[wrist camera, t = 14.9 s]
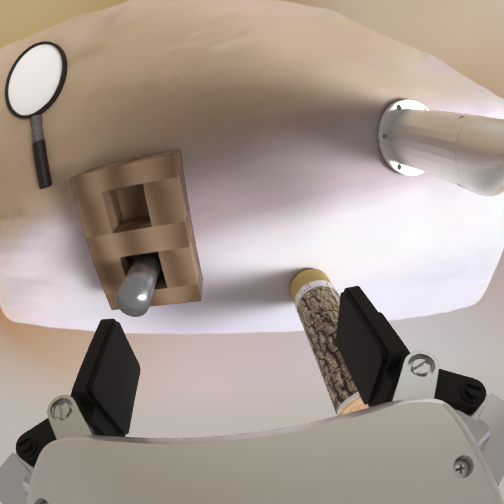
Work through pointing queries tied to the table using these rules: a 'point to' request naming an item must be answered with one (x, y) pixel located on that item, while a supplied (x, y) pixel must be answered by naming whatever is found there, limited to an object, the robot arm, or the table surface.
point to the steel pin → (139, 284)
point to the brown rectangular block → (140, 224)
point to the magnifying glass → (36, 94)
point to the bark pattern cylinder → (325, 336)
